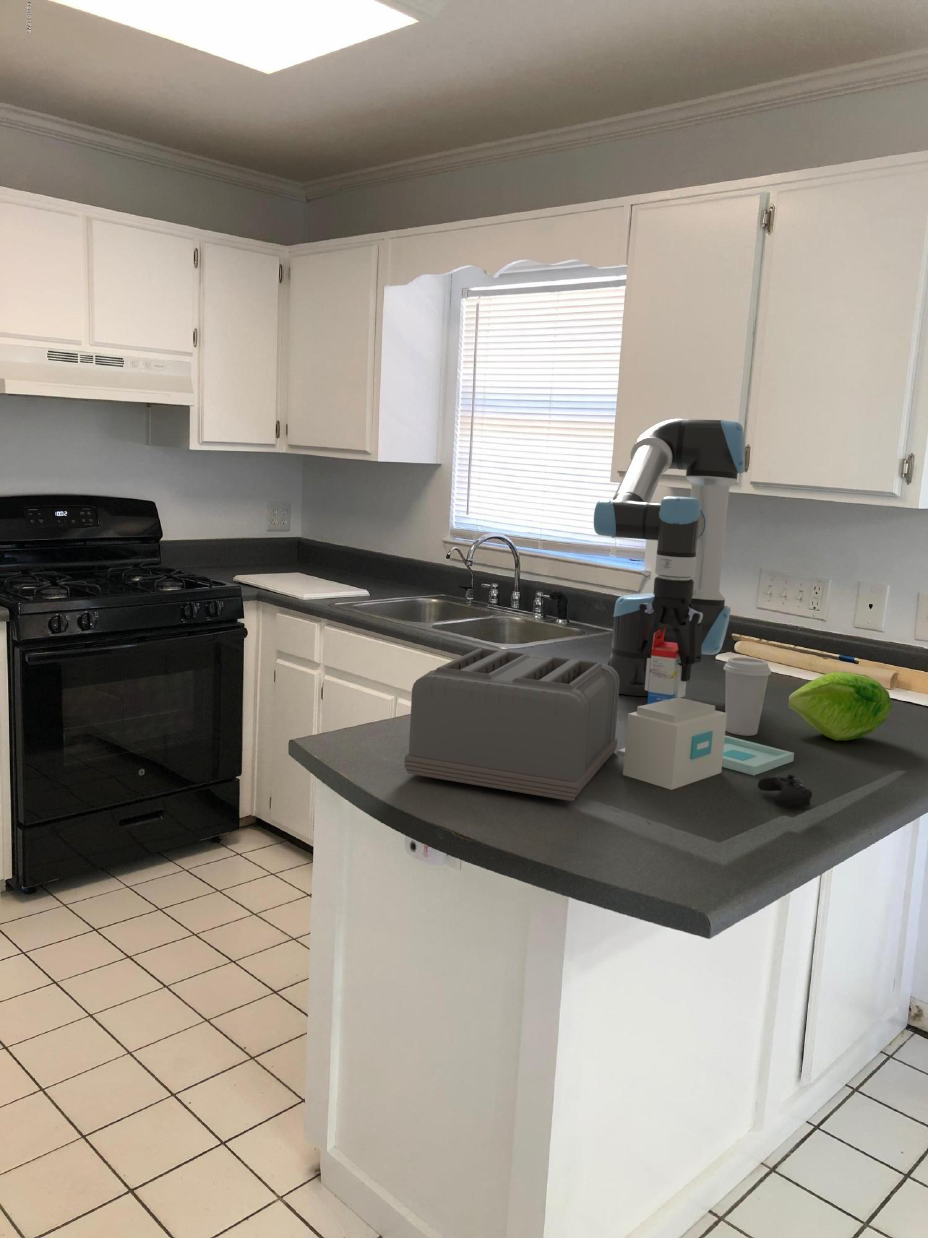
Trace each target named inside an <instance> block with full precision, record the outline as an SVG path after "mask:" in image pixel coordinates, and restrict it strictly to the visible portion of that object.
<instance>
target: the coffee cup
mask: <svg viewBox="0 0 928 1238" xmlns="http://www.w3.org/2000/svg"><path fill="white" fill-rule="evenodd" d="M723 671H725V698H724V699H725V703H724V704H725V706H724V707H725V709H724V710H725V711H724V713H727V719H726V729H725V732H728V733H729V734H732V735H739V736H755V735H757V734H758V731H759V725H760V721H761V716H762V715H761V714H762V711H763V706H764V705H763V704H764V700H765V694H766V689H767V685H768V679H769V675H771V674H772V670H771V668H770V666H769V662H767V661H766V660H762V659H759V658H751V657H740V656H739V657H734V656H733V657H729V658H728V659H727V662H725V664H724V666H723Z"/></svg>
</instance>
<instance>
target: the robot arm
mask: <svg viewBox="0 0 928 1238" xmlns="http://www.w3.org/2000/svg"><path fill="white" fill-rule="evenodd" d="M745 444H746V443H745V432H744V427H743V425H742V424H741V423H740V422H737V421H731V420H723V419H719V420H718V419H687V418H686V419H684V418H673V419H669V420H664V421H662V422H659V423H656V424H655V425H653V426H651V427H650V428H649V429H647V430H646V431H644V432H643V433H642V434H641V435H640V436H639V437H638V438H637V439H636V440H635V442H634V443H633V446H632V448H631V451H630V462H629V464H628V466H627V468H626V471H625V472H624V475H623V477H622V479H621V481H620V483H619V485H618V487H617V489H616V491H615V494H614V495H613V498H612V499H611V498H608V499H601V500H600V499H599V500H598V501H597V502H596V504H595V508H594V513H593V528H594V532H595V533H596V534H597V535H598V536H601V537H602V536H603V537H610V538H612V539H613V538H615V539H616V538H620V539H633V540H634V539H637V540H649V541H657V548H656V556H655V569H654V572H655V575H657V576H655V578H654V580H653V581H654V582H653V591H652V593H650V592H649V593H634V594H627V595H622V596H620V597H618V598H617V600H616V601H615V605H614V612H613V615H612V616H613V617H612V618H613V623H612V624H613V625H612V636H611V637H612V640H611V649H610V650H611V652H610V657H609V660H608V663H607V664H606V665H609V666H611V667H613V668H614V669H615V670H616V671H617V673H618V675H619V679H620V683H619V694H620V695H626V696H636V697H648V692H649V679H650V666H651V653H652V645H653V637H654V633H655V632H657V631H658V630H661V635H660V634H659V636H658V639H659V638H660V637H662V634H663V632H664V629H665V635H664V641H663V642H672V643H677V646H678V651H679V656H680V662H681V663H679V664H678V665H677V669H676V681H675V693H674V697H675V698H678V697H681V698H683V697H686V692H687V691H686V690H687V689H686V688H687V682H688V681H690V680H691V673H692V672H691V670H692V666H693V665H694V664H698V663H701V662H702V655H711V656H712V655H717V654H718V653H719V652H720V651H721V650H722V647H723V644H724V641H725V638H726V634H727V631H728V627H729V622H730V616H731V607H729V606H728V605H726V604H725V603H726V602H725V601H726V597H725V596H724V594H722V593H721V591H720V587H721V586H720V585H721V576H722V567H723V556H724V546H725V537H726V535H725V534H726V526H727V525H726V524H727V515H728V506H729V505H728V504H729V495H730V488H731V487H732V486H733V485H734V484H735V483H736V482H738V474H743V473H745V469H746V448H745V447H746V445H745ZM668 470H679V471H681V470H683V471H685V479H686V481H688V483H689V484H690V487H691V489H690V496H689V497H688V496H665V497H663V498H662V499H661V501H660V503H657V502H652V498H653V496H654V494H655V491H656V489H657V487H658V485H659V482H660V480H661V477H662V476H663V474H665V473H666V472H667V471H668Z"/></svg>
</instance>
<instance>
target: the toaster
mask: <svg viewBox="0 0 928 1238" xmlns="http://www.w3.org/2000/svg"><path fill="white" fill-rule="evenodd" d="M619 683H620V679H619V675H618V673H617V671H616V670H615V669H614V668H613V667H611V666H609V665H607V664H606V663H601V662H596V661H588V660H581V659H572V658H564V657H557V656H550V657H546V656H540V655H539V656H537V655H531V654H530V655H529V654H527V653H523V652H514V651H507V650H500V649H490V648H477V649H475V650H473V651H471V652H469V653H466V654H465V655H463V656H460V657H457V658H455V659H454V660H452V661H449V662H447V663H445V664H442V665H440V666H439V667H437V668H436V669H434V670H430V671H428V672H427V673H426V674H424V675H422V676H420V677H418V678H417V679H416V680H415V682H414V683H413V684H412V688H411V702H410V703H411V704H410V720H409V721H410V722H409V744H408V754H406V755H405V756H404V769H405V772H406V773H407V774H409V775H414V776H421V777H426V778H433V779H439V780H445V781H451V782H456V783H462V784H468V785H474V786H480V787H486V788H492V789H498V790H505V791H511V792H514V793H521V794H526V795H527V794H528V795H534V796H540V797H544V798H545V797H546V798H551V799H556V800H563V801H570V802H572V801H574V800H575V799H576V797H577V796H578V795H579V794H580V793H581V791H582V790H583V789H584V788H585V786H587V785H588V783H589V782H590V781H591V780H592V778H593V777H594V776H595V775H597V773H598V772H599V770H600V769H601V768H602V767H603V766H604V764H606V762H607V761H608V760H609V759H610V758H611V756H612V755H613V754H614V752H615V751H617V747H618V738H617V737H616V732H617V721H618V720H617V717H618V708H619V707H618V706H619Z"/></svg>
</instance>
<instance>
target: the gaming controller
mask: <svg viewBox="0 0 928 1238" xmlns="http://www.w3.org/2000/svg"><path fill="white" fill-rule="evenodd" d="M757 788H758V789H759V790H760V791H764V792H776V791H777V792H778V791H779V793H777V796H776V797H775V800H774V803H775V805H776V806H777V807H780V808H786V807H791V806H794V805H797V804H798V805H801V806H803V807H806V806H811V798H812V796H813V791H812V790H811V789H809V788H808V787H806V786H805V784H803V783H802V782H801V781H800V780H798V779H795V776H794V775H793V774H787V777H786V776H785V777H781V776H765V777H763V778H761V779H759V780H758V782H757Z"/></svg>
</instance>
